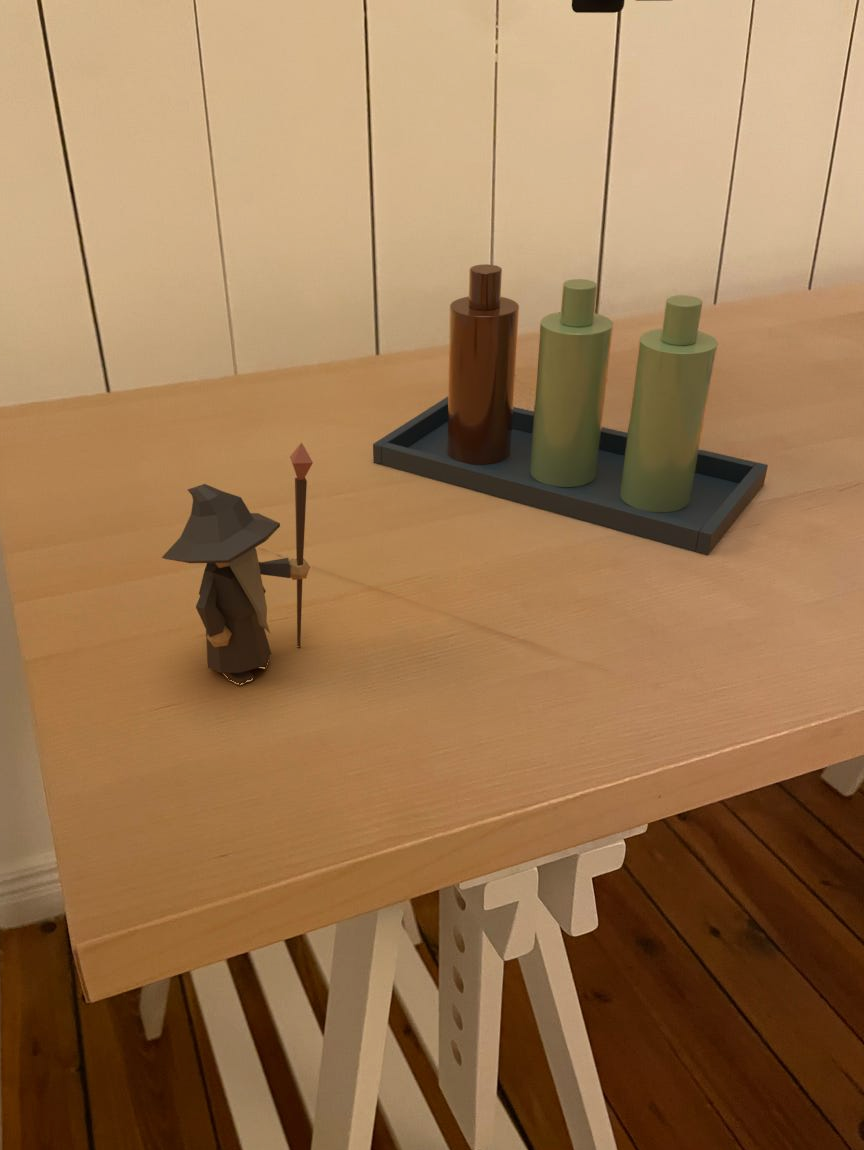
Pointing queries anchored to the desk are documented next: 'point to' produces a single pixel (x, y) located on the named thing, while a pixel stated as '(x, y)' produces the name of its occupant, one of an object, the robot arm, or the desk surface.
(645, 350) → the green bottle
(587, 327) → the green bottle
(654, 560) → the desk surface
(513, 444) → the tray
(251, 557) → the wizard figurine
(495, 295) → the brown bottle
